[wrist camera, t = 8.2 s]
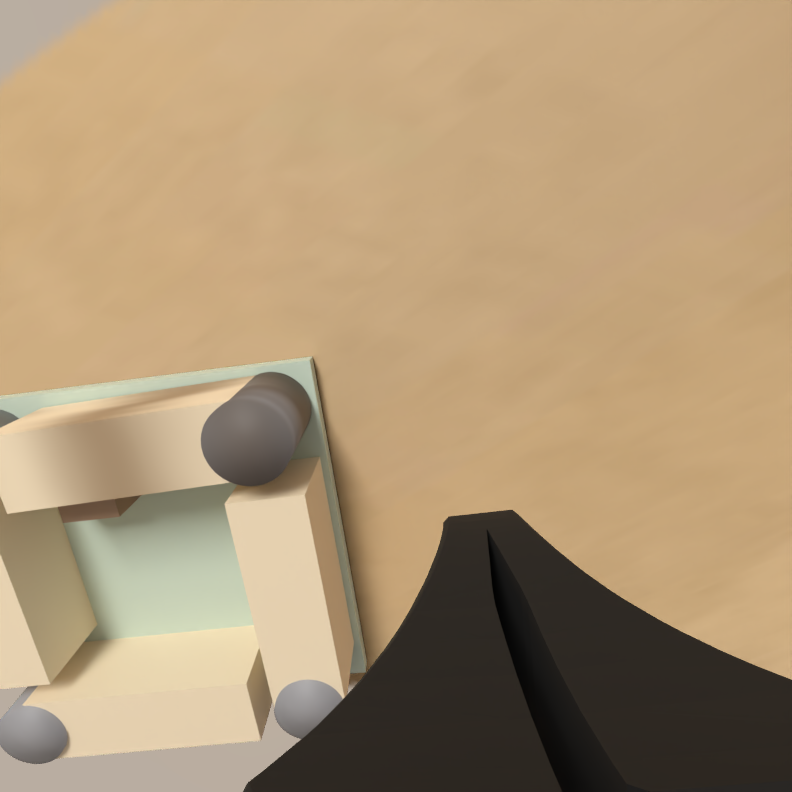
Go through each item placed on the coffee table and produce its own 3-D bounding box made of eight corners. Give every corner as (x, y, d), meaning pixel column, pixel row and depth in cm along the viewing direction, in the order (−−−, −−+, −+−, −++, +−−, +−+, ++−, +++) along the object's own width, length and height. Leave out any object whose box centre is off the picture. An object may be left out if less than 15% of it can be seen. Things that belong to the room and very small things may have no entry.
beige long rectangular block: (303, 366, 18) (280, 394, 15) (318, 438, 19) (299, 479, 16) (41, 406, 19) (-34, 442, 16) (65, 474, 20) (-2, 521, 16)
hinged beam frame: (366, 661, 23) (358, 743, 19) (66, 689, 23) (3, 773, 20) (312, 356, 19) (290, 385, 15) (-42, 401, 20) (-143, 438, 16)
